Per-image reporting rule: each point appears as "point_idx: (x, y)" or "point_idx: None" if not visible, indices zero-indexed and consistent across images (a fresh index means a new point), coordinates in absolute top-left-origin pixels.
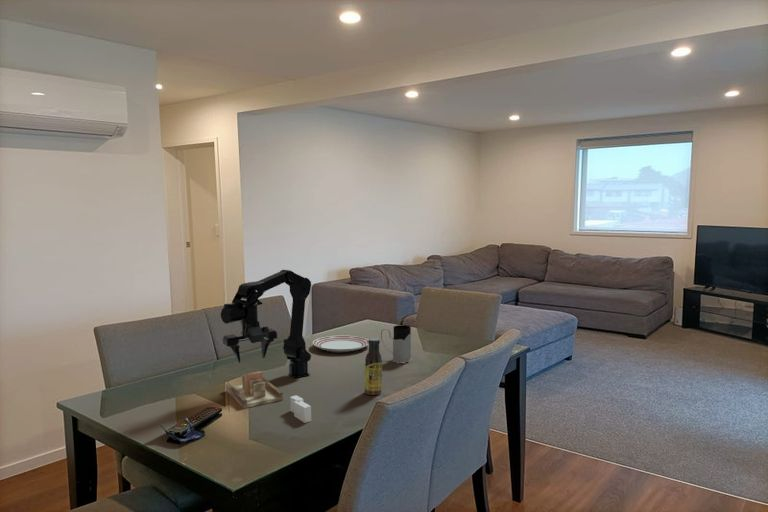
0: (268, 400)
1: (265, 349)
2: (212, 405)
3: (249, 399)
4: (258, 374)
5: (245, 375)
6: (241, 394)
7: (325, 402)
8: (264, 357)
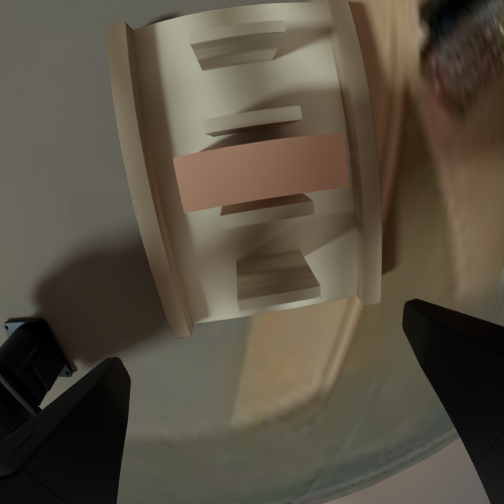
0: (198, 15)
1: (49, 421)
2: (447, 127)
3: (299, 54)
4: (215, 149)
5: (343, 149)
6: None
7: (7, 5)
8: (105, 359)
